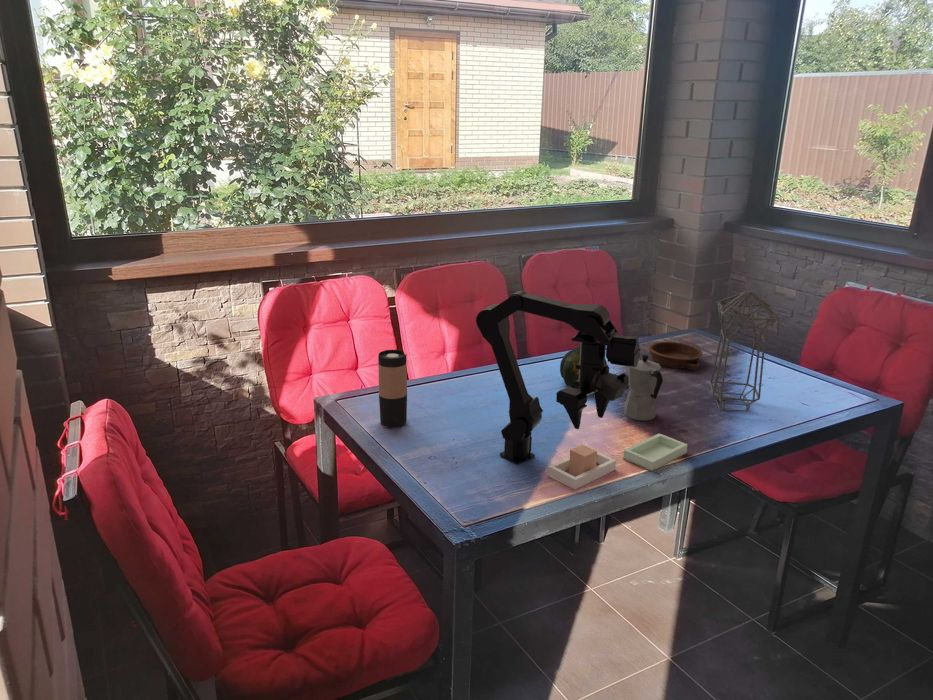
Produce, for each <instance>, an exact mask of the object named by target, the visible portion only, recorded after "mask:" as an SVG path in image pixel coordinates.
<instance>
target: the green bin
mask: <svg viewBox="0 0 933 700" xmlns="http://www.w3.org/2000/svg"><path fill="white" fill-rule="evenodd" d="M687 452H688V444H687V443H686V442H685V443H684V442H682V441H679V440H678V439H675V438H672V437H670V436H667V435H665V434H661V433H656V434H654V435H653V436H650V437H648V438H646V439H644V440H642V441H640V442H638V443H635V444H633V445H632V446H630V447H627V448H625V449H624V450H623V457H622V459H623V460H624V461H627V462H630V463H632V464H633V465H636V466H638V467H639V468H643V469H645V470H646V471H647V470H648V471H650V472H653V471H656V470H657V469H659V468H661V467H663V466H665V465H667V464H669V463H671V462H672V461H674V460H676V459H678V458H680V457H682V456H684V455H686V454H687Z"/></svg>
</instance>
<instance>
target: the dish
mask: <svg viewBox="0 0 933 700" xmlns="http://www.w3.org/2000/svg"><path fill="white" fill-rule="evenodd" d="M648 350H649V353H650V356H651V359H652V360H653V361H652V362H655V363H658V364H659V365H660V367H665V368H669V369H670V368H671V369H689V370H692V371H694V370H695V371H696V370H698V369H699V368H700V363H699V360H700V358H702V356H703V352H702V350H701V349H700V348H699V347H696V346H694V345H690V344H687V343H682V342H677V341H658V342H657V341H656V342H653V343H651V344H650V345H649V346H648Z"/></svg>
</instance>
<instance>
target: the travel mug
mask: <svg viewBox="0 0 933 700" xmlns="http://www.w3.org/2000/svg"><path fill="white" fill-rule="evenodd" d="M377 357H378V359H377V362H378V368H377V369H378V403H379V417H380V420H379V421H380V425H381V426H383V427H385V428H389V429H398V428H401V427H403V426H405V425H406V424H407V418H408V417H407V416H408V415H407V414H408V413H407V412H408V380H407V379H408V377H407V376H408V375H407V373H408V371H407V370H408V369H407V354H405V352H404V351H403V350H399V349H385V350H383V351H380V352H379V353H378V355H377Z"/></svg>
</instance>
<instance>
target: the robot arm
mask: <svg viewBox="0 0 933 700" xmlns="http://www.w3.org/2000/svg"><path fill="white" fill-rule="evenodd" d="M517 311H519V312H524V313H527V314H531V315H535V316H537V317H543V318H546V319H550V320H555V321H558V322H561V323H564V324H567V325H569V327H571V328H573V329H574V330H576V331H577V333H576V334H575V335H573V337H572V338H571V342H577V343H580V345H579V346H580V363H578V364H576V367H575V368H576V369H579V379H578V380H576V381H575V385H576V386H579V388H580V389H577V388H571V387H567V386H566V387H565V388H562V389H560V390H558V391H557V392H556V395H555V401H556V402H555V403H558V404H560V405H562V406H563V407H564V409H565V411H566V413H567V415H568V417H569V419H570V422H571V423H572V426H573V428H574V429H576V430H579V429H580V426H581V421H582V414H583V410H584V409H585V408H587V406H588V405H587V402H588V396H589V395H592V394H593V395H594V402H595V408H596V414H597V417H598V418H600V419H602V418H604V416H605V413H606V410H607V408H608V405H609V403H610V401H612V402H613V401H616V400H617V399H620V398H623V395H624V393H625V391H626V390H628V389H630V386H629V376H628V373H625V372H622V373H619V374H618V375H617V374H616V373H611V372H610V366H609V365H608V364H607V365H606V364H605V359H606V362H607V363H608V362H609V363H610V365H617V366H622V367H628V366H629V367H637V365H638V361H639V359H640V355H641V348H640V342H639V336H635V335H632V336H628V335H620V334H619V331H618V329H617V328H616V327H615V325H614V323H613V322H612V320H611V316H610V313H609V311H608V309H607V307H605V306H604V305H601V304H592V303H581V304H580V303H579V304H578V303H568V302H565V301H561V300H558V299H557V300H556V299H553V298H549V297H545V296H540V295H537V294H532V293H530V292H526V291H525V290H517V291H516V292H514V293H512V294H511V295H509V297H508V298H507V299H505V300H502V302H501V303H492V304H490V305H489V306H487V307H485V308H484V309H482V310H480V311H479V312H478V313H477V316H476V318H475V323H476V324H475V325H476V326H477V329H478V330H479V332H480V334H481V337H482V338H483V339H484V340H485V341H486V342H487V343H488V344H489V345H490V347H491V349H492V352H493V355H494V358H495V361H496V364H497V367H498V370H499V374H500V376H501V379H502V382H503V385H504V387H505V389H506V394H507V396H508V401H509V403H508V404H509V405H508V406H509V407H508V408H509V409H508V416H509V423H507V424H506V425H505V426H504V427H503V428H502V429H501V435H502V438H503V440H504V448H503V449H504V451H501V452H499V456H500V457H503V458H505V459H506V460H508V461H510V462H512V463H514V464H516V465H519V464H521V463H523V462H525V461H528V460H530V459H533V458H535V457H536V454H534V453H533V452H532V442H533V441H532V439H533V438H532V431H534V429H535V428H536V427H537V426H538V424H540V423H541V421H542V418H543V413H544V410H543V408H542V407H541V404H540V398H539V396H536V397H532V396H531V394H529V392H528V389H527V388H526V383H525V381H524V378H523V376H522V375H523V374H522V371H521V369H520V366H519V363H518V360H517V357H516V354H515V352H514V348H513V346H512V343H511V340H510V334H511V324H510V318H509V317H510V316H511V315H512V314H514V313H516V312H517Z"/></svg>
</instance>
